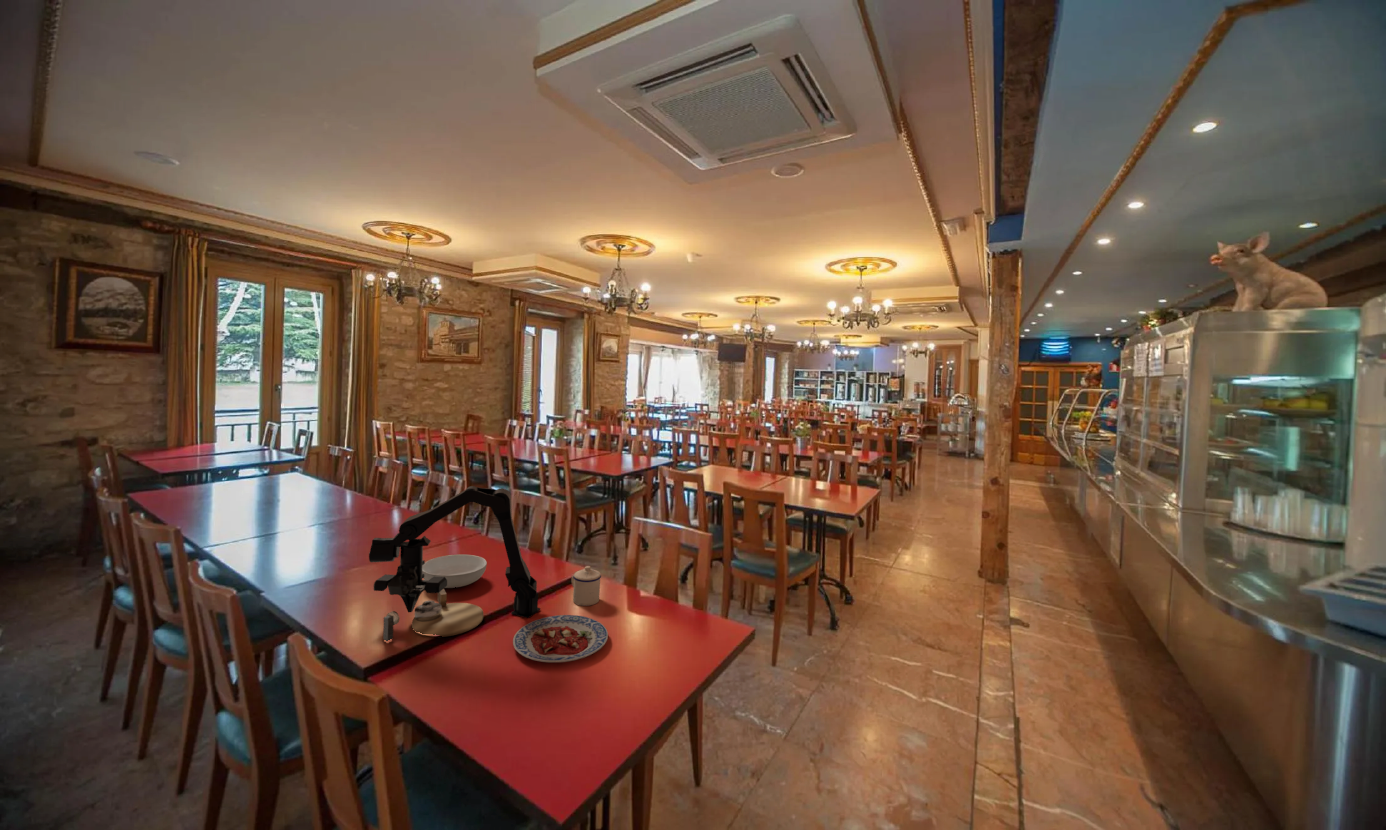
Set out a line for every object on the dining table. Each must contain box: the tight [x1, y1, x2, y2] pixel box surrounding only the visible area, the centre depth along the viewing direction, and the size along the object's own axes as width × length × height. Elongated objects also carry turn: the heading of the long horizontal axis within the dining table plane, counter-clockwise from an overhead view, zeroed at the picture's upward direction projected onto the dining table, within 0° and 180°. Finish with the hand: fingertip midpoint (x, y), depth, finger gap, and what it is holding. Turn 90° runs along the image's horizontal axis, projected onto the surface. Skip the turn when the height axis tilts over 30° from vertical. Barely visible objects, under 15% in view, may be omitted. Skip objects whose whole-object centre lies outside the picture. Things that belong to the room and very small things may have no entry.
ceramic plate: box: [512, 614, 609, 663], centre depth 141 cm, size 26×26×3 cm
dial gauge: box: [382, 610, 400, 641], centre depth 136 cm, size 4×3×8 cm
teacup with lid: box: [571, 565, 602, 607], centre depth 169 cm, size 12×9×12 cm
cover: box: [414, 600, 442, 622], centre depth 148 cm, size 7×7×4 cm
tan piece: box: [411, 588, 484, 638], centre depth 148 cm, size 21×19×5 cm
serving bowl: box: [422, 554, 488, 589], centre depth 176 cm, size 21×21×7 cm
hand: (410, 611), depth 148 cm, fingers closed
